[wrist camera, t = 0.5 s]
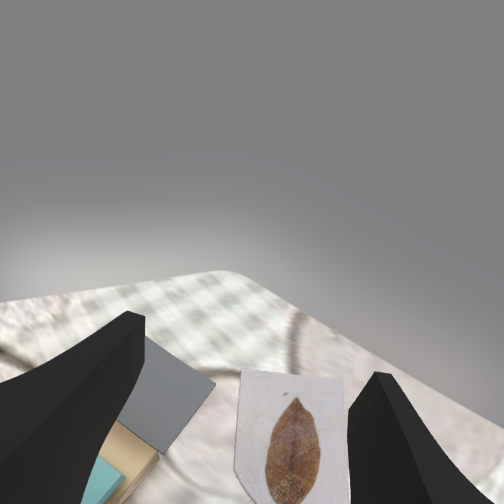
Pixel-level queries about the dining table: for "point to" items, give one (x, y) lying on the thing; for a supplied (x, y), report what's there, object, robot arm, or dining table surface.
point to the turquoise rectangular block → (101, 483)
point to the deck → (127, 460)
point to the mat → (163, 398)
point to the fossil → (291, 439)
